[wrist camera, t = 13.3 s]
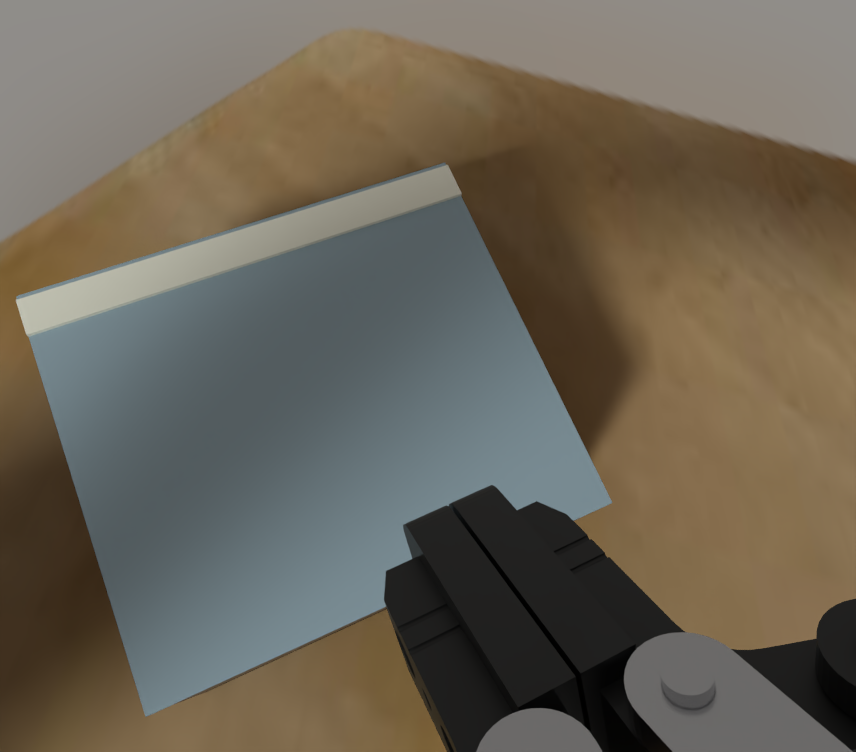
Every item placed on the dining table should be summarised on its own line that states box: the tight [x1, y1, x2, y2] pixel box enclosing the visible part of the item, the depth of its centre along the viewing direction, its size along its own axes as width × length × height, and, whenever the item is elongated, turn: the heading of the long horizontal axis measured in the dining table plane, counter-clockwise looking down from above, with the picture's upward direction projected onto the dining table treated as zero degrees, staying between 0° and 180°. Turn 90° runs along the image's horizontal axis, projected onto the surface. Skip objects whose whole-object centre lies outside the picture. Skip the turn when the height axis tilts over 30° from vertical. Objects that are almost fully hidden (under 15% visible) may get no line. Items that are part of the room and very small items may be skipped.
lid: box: [16, 163, 612, 717], centre depth 27 cm, size 16×18×1 cm
